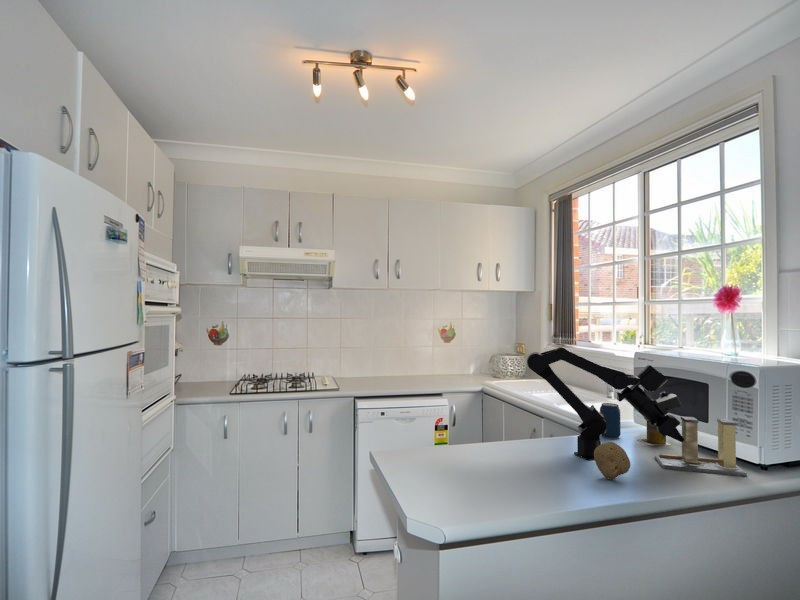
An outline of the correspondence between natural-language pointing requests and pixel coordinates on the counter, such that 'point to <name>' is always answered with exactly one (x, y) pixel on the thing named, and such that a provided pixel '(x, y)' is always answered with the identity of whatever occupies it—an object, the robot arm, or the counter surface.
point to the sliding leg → (690, 439)
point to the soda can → (611, 420)
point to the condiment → (654, 436)
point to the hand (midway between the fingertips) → (682, 441)
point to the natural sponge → (611, 460)
